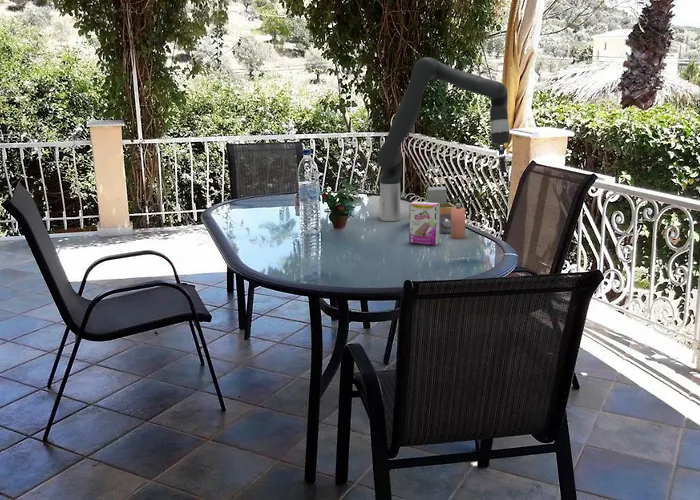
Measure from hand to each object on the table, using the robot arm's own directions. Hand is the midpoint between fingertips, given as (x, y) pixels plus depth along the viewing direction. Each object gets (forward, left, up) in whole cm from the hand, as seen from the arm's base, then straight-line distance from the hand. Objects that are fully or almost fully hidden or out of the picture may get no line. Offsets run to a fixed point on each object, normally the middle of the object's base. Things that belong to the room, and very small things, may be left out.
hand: (502, 171), depth 267 cm
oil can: (-20, -4, -25) cm, 33 cm away
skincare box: (-20, +24, -26) cm, 41 cm away
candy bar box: (-36, -10, -26) cm, 45 cm away
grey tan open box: (-23, +10, -25) cm, 35 cm away
